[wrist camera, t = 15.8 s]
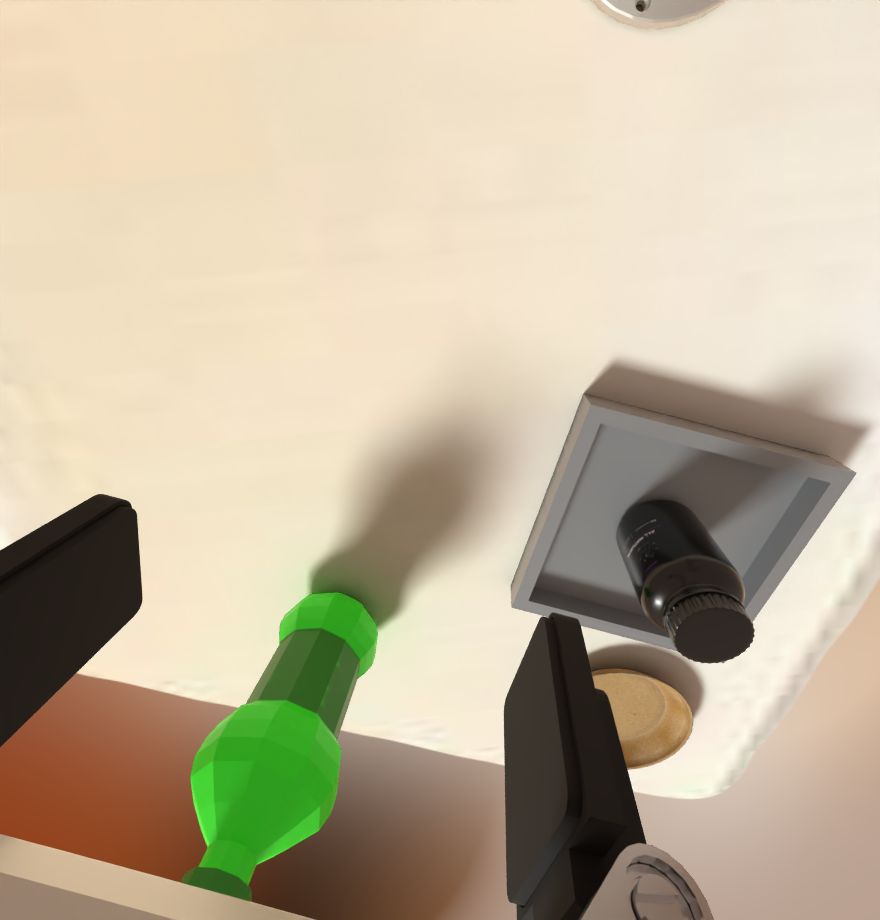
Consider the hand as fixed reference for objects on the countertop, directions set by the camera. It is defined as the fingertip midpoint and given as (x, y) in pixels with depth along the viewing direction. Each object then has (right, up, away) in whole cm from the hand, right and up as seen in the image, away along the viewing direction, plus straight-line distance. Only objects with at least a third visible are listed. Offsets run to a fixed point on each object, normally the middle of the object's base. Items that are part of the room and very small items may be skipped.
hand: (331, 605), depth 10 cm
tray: (+21, -3, +30) cm, 37 cm away
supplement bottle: (+21, -3, +29) cm, 36 cm away
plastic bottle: (-8, -13, +38) cm, 41 cm away
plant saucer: (+21, -23, +39) cm, 50 cm away
